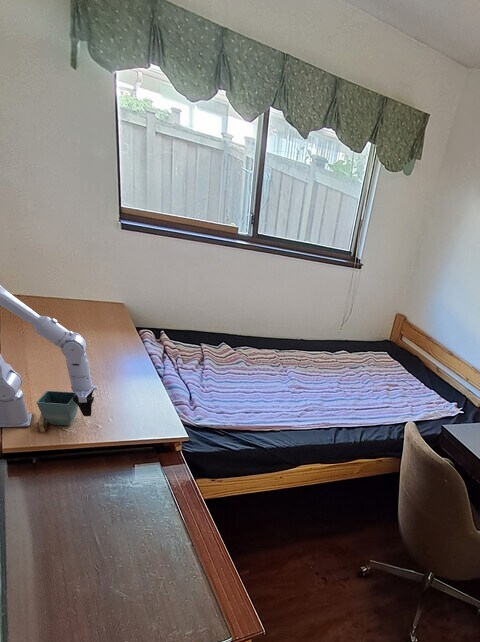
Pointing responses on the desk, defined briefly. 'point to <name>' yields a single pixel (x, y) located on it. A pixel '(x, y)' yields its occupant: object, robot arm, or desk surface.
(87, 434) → the desk surface
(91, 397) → the robot arm
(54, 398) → the flower pot
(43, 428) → the stop rail
